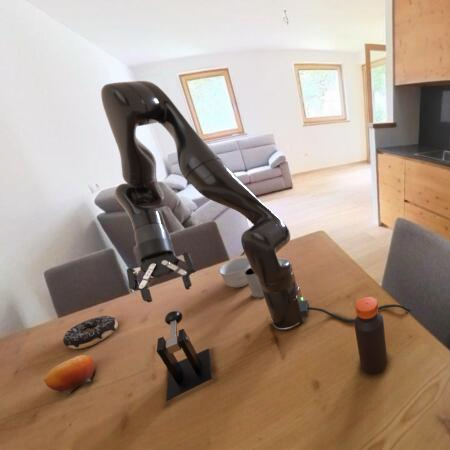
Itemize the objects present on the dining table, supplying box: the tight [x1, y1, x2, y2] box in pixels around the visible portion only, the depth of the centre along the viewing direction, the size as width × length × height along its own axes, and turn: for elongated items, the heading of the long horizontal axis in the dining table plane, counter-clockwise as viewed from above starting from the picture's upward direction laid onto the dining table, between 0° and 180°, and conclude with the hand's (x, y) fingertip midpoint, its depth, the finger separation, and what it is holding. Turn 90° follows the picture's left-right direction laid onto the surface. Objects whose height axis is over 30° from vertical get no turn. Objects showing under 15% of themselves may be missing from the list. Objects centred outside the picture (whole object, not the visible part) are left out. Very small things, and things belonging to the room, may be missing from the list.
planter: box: [245, 268, 264, 300], centre depth 95 cm, size 4×4×10 cm
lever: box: [164, 310, 183, 354], centre depth 69 cm, size 13×4×4 cm, turn 36°
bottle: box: [353, 296, 388, 376], centre depth 66 cm, size 7×7×20 cm
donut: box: [62, 315, 119, 350], centre depth 83 cm, size 11×12×4 cm
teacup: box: [219, 254, 251, 288], centre depth 104 cm, size 14×11×8 cm
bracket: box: [156, 328, 213, 402], centre depth 68 cm, size 11×9×13 cm
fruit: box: [43, 354, 95, 394], centre depth 69 cm, size 8×8×8 cm
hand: (169, 295), depth 76 cm, fingers open, 8 cm apart
